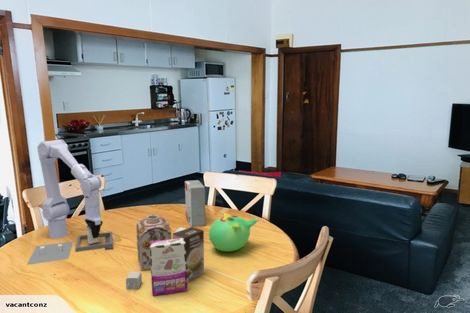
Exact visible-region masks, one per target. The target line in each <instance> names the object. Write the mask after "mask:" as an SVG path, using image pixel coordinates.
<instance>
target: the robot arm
mask: <svg viewBox="0 0 470 313" xmlns="http://www.w3.org/2000/svg"><path fill="white" fill-rule="evenodd" d="M68 146H69V145H68V144H67V143H66V141H65V140H64V139H61V138H60V139H55V140H42V141H40V142H39V144H38V145H37V147H36V148H37V153H38V154H37V155H38V159H39V160H38V161H39V162H40V166H41V172H42V177H43V182H44V187H45V191H46V192H45V193H46V199H45V201H44V202H43V203H42V212H41V213H42V217H43V218H44V219H45V220H46V221H47V227H48V238H50V239H61V238H64V237H66V236H68V234H70V230H68V229H67V228H68V227H67V226H68V225H67V217H68V215H69V213H70V206H69V204H68V202H67V198H65V197H63V196H62V195H61V189H60V185H59V184H60V183H59V179H58V174H57V169H56V168H57V167H56V165H55V162H56V160H57V158H59V159H61V160H62V162H63V163H64V164H65V165H67V166H68V167H69V168H70V169H71V170H70V173H71V175H72V176H73V177H74V178H75V179H76V180H77V181H78V182H79V184H80V185H79V187H80V189H81V191H82V195H83V197H84V207H85V208H84V210H85V216H82V219H83V220H84V222H85V223H86V226H89V227H90V229H91V232H92V236H93V238H98V237H99V233H101V231H100V230H101V227H102V225H103V223H104V221H102V220H101V219H102V214H101V204H100V189H101V188H102V180H101V178H100V177H99V176H98V175H94V174H92V172H90V170H88V168H87V167H86V166H85V165H84V164H83V163H78V161H77V159H76V158H75V157H74V156H73V154H72V153H71V152H70V150H69V147H68ZM99 238H100V237H99Z"/></svg>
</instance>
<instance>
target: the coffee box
mask: <svg viewBox="0 0 470 313" xmlns="http://www.w3.org/2000/svg"><path fill="white" fill-rule="evenodd" d="M204 232H205V231H204V230H203V229H201V228H197V227H191V226H190V227H188V228H187V229H184V230H181V231H179V232H176V233H175V232H173V233H172V239H177V238H184V241H185V244H186V267H187V283H189V282H191V281H193V280H194V279H196V278H199V277H200V276H202V275H204V274H205V245H204V242H205V240H204V239H205V238H204V237H205V236H204V235H205V233H204Z"/></svg>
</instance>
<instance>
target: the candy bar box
mask: <svg viewBox="0 0 470 313" xmlns="http://www.w3.org/2000/svg"><path fill="white" fill-rule="evenodd" d="M150 262H151V269H150V276H151V278H150V279H151V293H152V296H153V297H156V296H163V295H169V294H175V293H176V294H177V293H181V292H182V293H183V292H188V282H187V267H186V244H185V241H184V238H177V239H173V238H172V239H168V240H160V241H152V242H150Z"/></svg>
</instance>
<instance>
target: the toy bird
mask: <svg viewBox="0 0 470 313" xmlns="http://www.w3.org/2000/svg"><path fill="white" fill-rule="evenodd" d="M258 221H259V220H258V218H253V219H248V220H245V219H244V218H242V217H241V216H239V215H235V214H233V215H232V214H229V213H227V212H224V213H223V216H221V217H219V218H217V219H216V220H215V221H214V222H212V224H211V226H210V228H209V231H208V236H209V240H210V243H211V245H212V246H213V247H214V248H216V249H217V250H219V251H221V252H236V251H238V250H241V248H243V247H244V246H245V245H246V244H247V242H248V241H249V239H250V234H251V228H252V227H253V226H254V225H256V223H257V222H258Z"/></svg>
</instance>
